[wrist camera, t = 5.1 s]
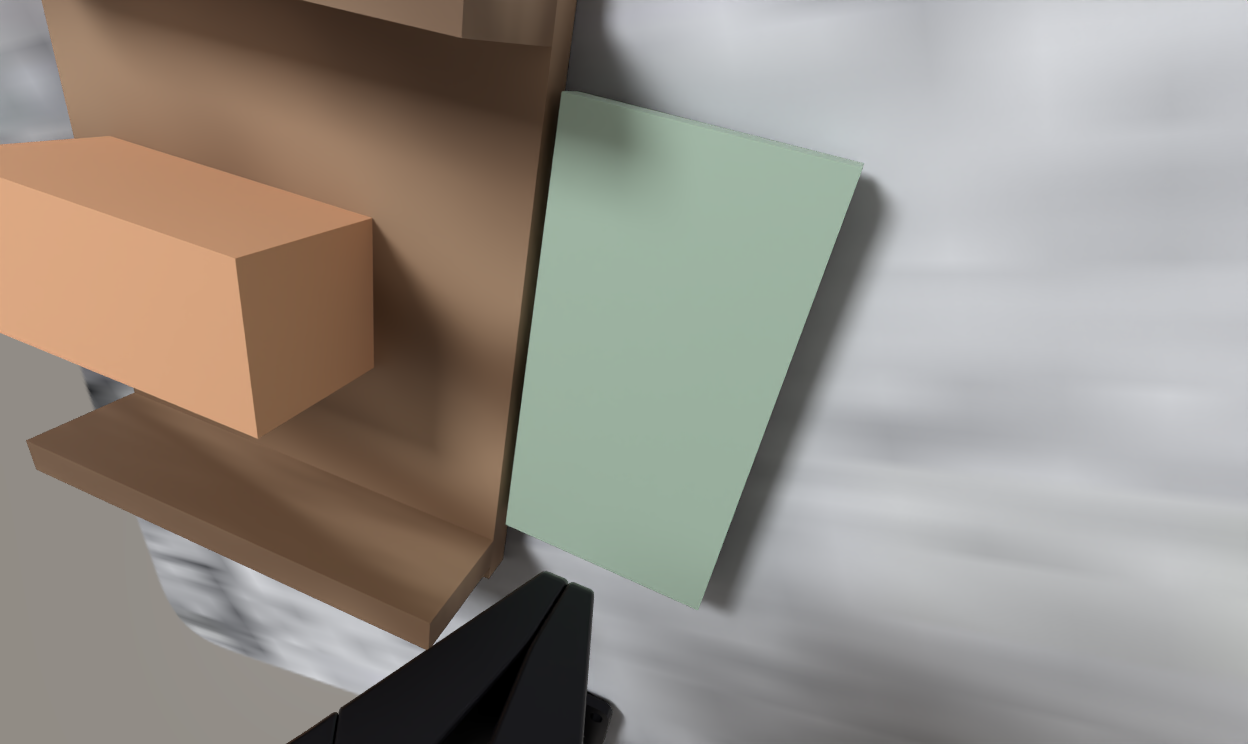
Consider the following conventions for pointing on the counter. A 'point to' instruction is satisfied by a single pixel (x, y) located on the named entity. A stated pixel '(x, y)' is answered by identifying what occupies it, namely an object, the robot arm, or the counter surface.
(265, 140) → the brown wooden tray
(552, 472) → the pale green rectangular block
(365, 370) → the peach rectangular block
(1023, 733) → the counter surface
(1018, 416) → the counter surface
